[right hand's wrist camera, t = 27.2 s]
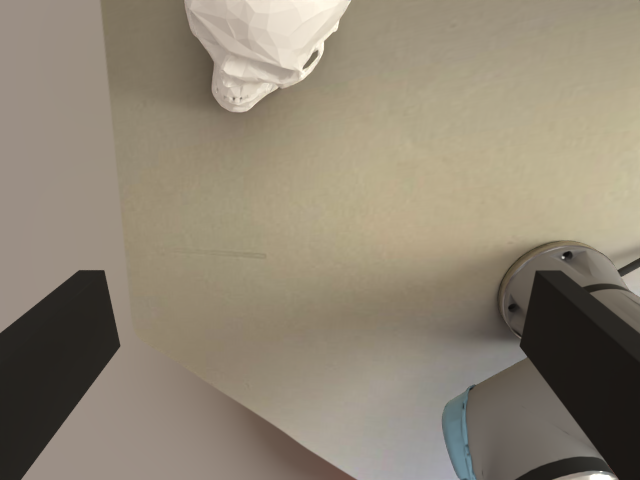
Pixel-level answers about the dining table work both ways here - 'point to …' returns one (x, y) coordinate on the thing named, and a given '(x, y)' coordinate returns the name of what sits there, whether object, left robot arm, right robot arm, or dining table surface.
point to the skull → (261, 43)
